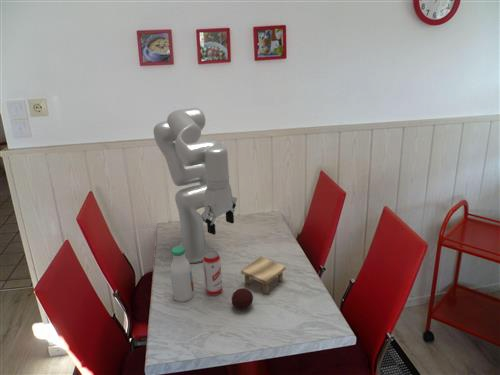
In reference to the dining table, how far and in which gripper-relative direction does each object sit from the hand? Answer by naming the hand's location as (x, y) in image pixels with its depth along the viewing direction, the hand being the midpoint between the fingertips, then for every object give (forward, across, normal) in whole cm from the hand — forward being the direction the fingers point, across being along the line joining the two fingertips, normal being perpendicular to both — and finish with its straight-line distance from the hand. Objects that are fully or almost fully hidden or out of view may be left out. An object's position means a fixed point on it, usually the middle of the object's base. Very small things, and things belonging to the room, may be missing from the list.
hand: (221, 227), depth 144 cm
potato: (+27, +4, +11) cm, 29 cm away
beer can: (+27, +3, -3) cm, 27 cm away
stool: (+27, -12, +9) cm, 31 cm away
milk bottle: (+27, +11, -11) cm, 31 cm away
